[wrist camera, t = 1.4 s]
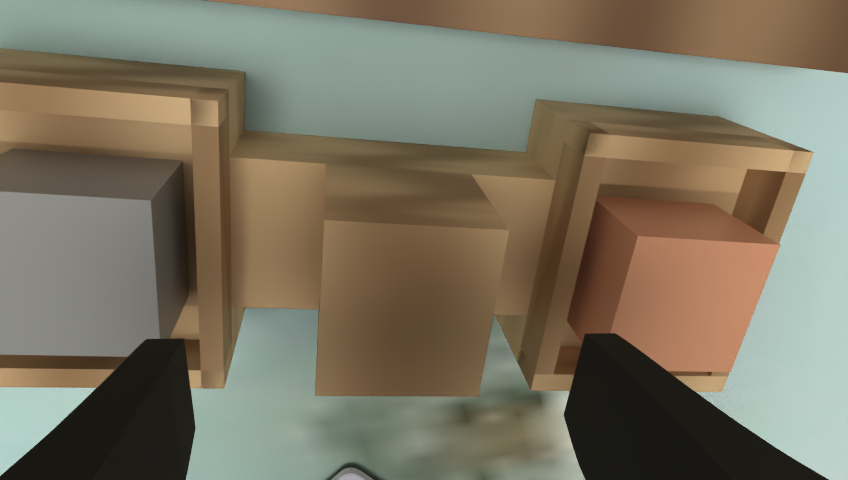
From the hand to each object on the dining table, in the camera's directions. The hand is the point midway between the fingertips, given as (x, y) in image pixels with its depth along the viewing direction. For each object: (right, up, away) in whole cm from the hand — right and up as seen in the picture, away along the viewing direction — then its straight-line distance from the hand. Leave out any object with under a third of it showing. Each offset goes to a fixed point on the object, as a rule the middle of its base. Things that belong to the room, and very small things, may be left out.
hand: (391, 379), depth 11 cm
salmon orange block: (+7, +2, +8) cm, 11 cm away
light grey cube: (-8, +3, +5) cm, 10 cm away
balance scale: (-1, +4, +9) cm, 10 cm away
